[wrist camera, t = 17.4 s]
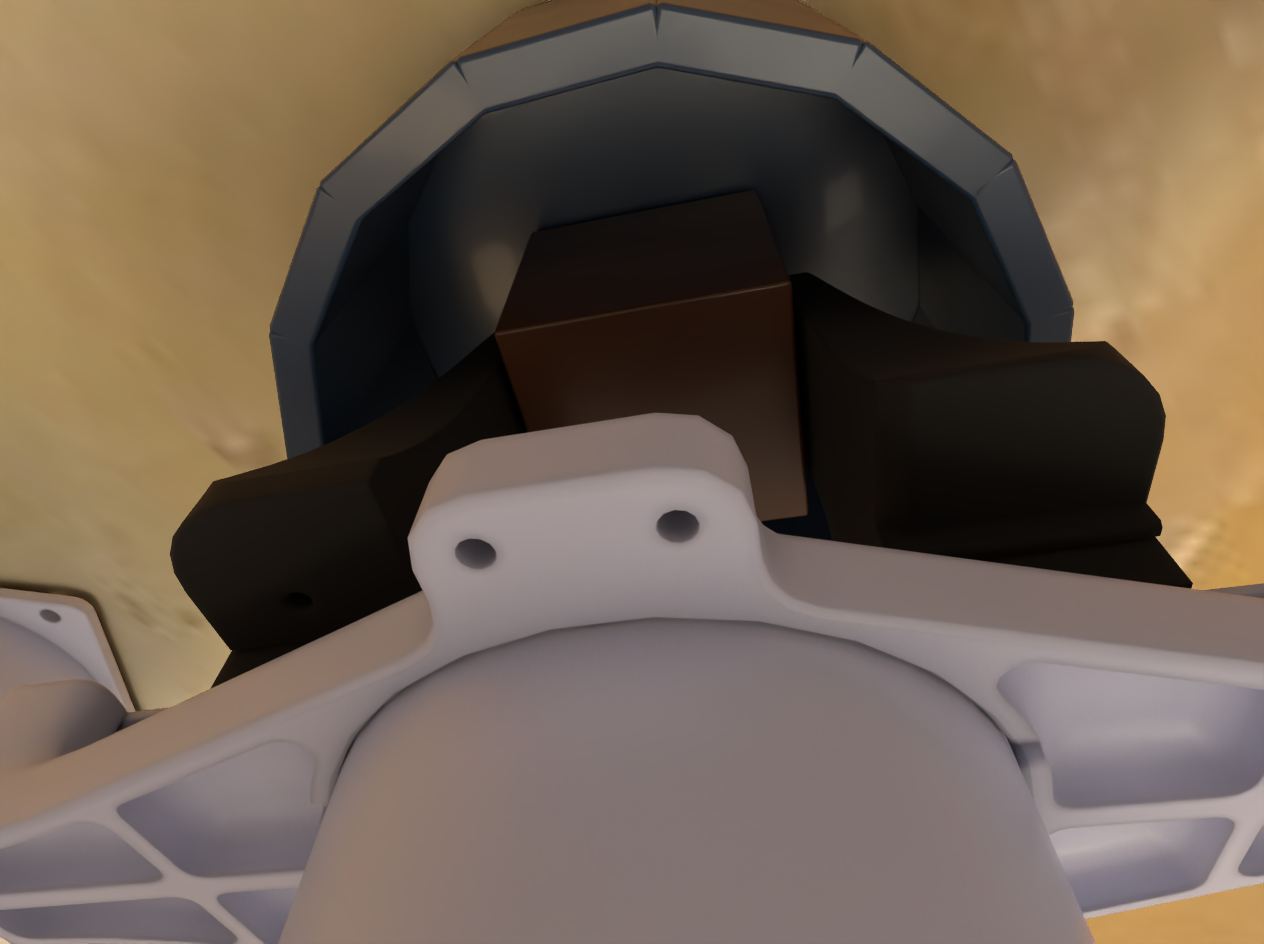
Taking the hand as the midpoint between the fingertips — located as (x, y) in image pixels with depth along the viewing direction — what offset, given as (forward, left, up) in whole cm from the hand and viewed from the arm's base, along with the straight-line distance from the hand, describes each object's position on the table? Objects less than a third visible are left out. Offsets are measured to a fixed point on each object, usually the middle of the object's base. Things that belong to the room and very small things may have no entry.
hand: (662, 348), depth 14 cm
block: (0, 0, -1) cm, 1 cm away
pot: (0, 0, -2) cm, 2 cm away
